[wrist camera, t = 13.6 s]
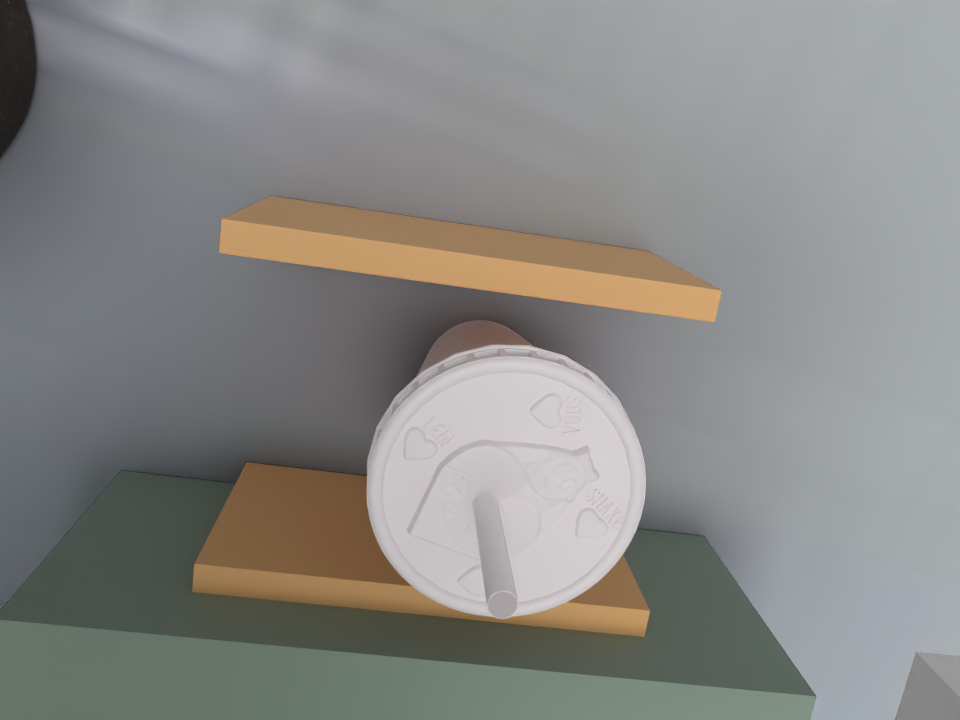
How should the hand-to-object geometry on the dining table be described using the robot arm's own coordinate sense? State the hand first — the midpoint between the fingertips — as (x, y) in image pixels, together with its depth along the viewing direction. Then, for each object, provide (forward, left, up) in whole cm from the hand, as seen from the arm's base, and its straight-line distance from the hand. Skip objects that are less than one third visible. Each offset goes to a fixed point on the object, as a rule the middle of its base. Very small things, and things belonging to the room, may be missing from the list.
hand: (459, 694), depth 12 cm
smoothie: (+1, 0, -17) cm, 17 cm away
